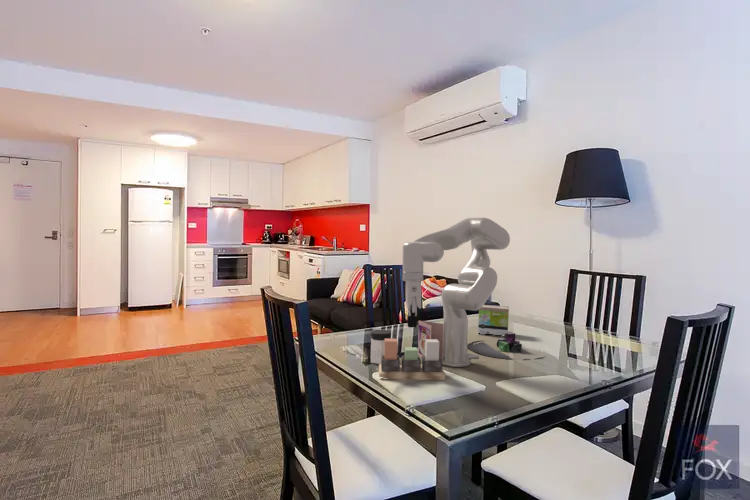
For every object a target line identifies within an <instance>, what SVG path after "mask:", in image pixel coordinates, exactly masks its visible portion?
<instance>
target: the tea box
mask: <svg viewBox="0 0 750 500" xmlns="http://www.w3.org/2000/svg"><path fill="white" fill-rule="evenodd" d="M509 311H510V310H509V306H505V305H494V304H493V305H491V304H484V305H483V306H482V308H480V309H479V310H478V327H477V334H478V333H480V334H479V335H485V334H494V335H493V336H495V335H504V336H505V333H507V332H509V317H510V316H509V315H510V313H509Z"/></svg>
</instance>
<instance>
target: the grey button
mask: <svg viewBox="0 0 750 500" xmlns="http://www.w3.org/2000/svg"><path fill="white" fill-rule="evenodd" d="M425 359H426V361H439V341H438V340H437V339H425Z"/></svg>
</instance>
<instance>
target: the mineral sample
mask: <svg viewBox="0 0 750 500" xmlns="http://www.w3.org/2000/svg"><path fill="white" fill-rule="evenodd" d="M495 345H496V347H497V348H498V349H499V350H497V349H495V348H494V347H492V346H490V345H489V344H487V343H485V342H484V341H482V340H475V341H472V342H469V343H467V349H469V350H471V352H472V351H473V352H474V353H476V354H479V355H483V356H486V357H489V358H497V359H503V360H511V361H514V358H512V357H511V356H509V355H506V354H505V353H503V352H514V353H518V354H519V353H520V354H521V353H522V351H523V350H522V347H523V344H522V343H520V341H519V340H518V339H516V333H514V332H512V331H508V332H507V333H505V336H504V337H500V338H498V339H497V342H496V344H495ZM543 358H544V356H543V357H536V360H539V359H543ZM530 360H531V358H523V359H522V361H530Z"/></svg>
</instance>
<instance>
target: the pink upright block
mask: <svg viewBox="0 0 750 500" xmlns="http://www.w3.org/2000/svg"><path fill="white" fill-rule="evenodd" d="M397 356H398V339H397V338H391V339H387V338H385V342H384V360H397Z"/></svg>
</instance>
